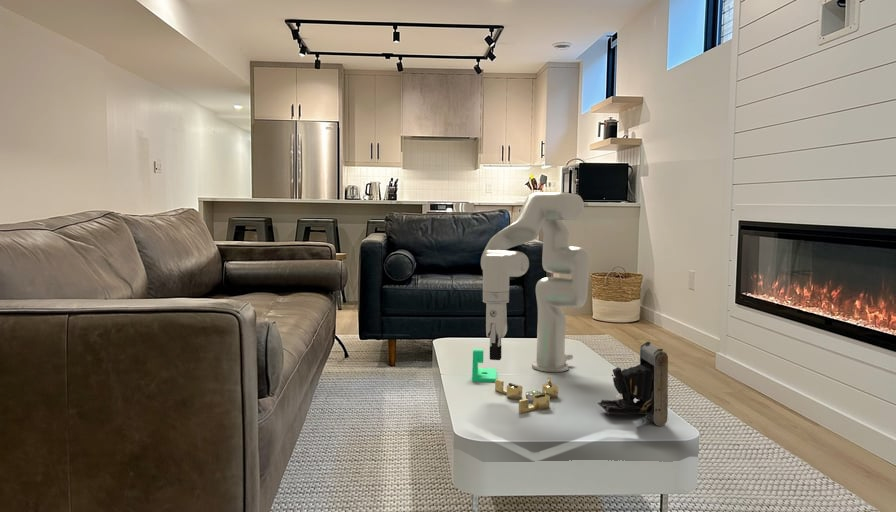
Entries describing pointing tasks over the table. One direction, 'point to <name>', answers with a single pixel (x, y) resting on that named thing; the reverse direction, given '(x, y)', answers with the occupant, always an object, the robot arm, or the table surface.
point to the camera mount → (482, 369)
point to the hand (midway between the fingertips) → (495, 359)
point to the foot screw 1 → (509, 389)
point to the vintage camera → (642, 387)
